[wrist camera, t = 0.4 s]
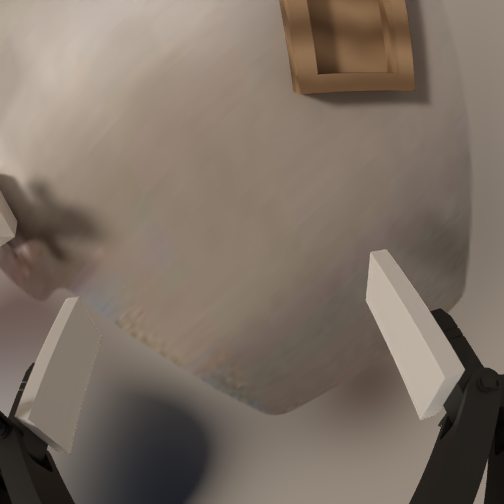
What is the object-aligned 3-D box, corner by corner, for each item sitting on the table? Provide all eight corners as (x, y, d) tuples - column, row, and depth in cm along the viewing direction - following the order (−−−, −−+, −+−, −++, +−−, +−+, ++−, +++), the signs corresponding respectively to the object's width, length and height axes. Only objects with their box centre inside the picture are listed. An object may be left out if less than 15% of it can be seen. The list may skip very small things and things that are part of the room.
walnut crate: (274, -28, 24) (279, -39, 21) (383, -24, 24) (398, -31, 21) (293, 92, 33) (301, 94, 29) (398, 87, 32) (415, 91, 29)
